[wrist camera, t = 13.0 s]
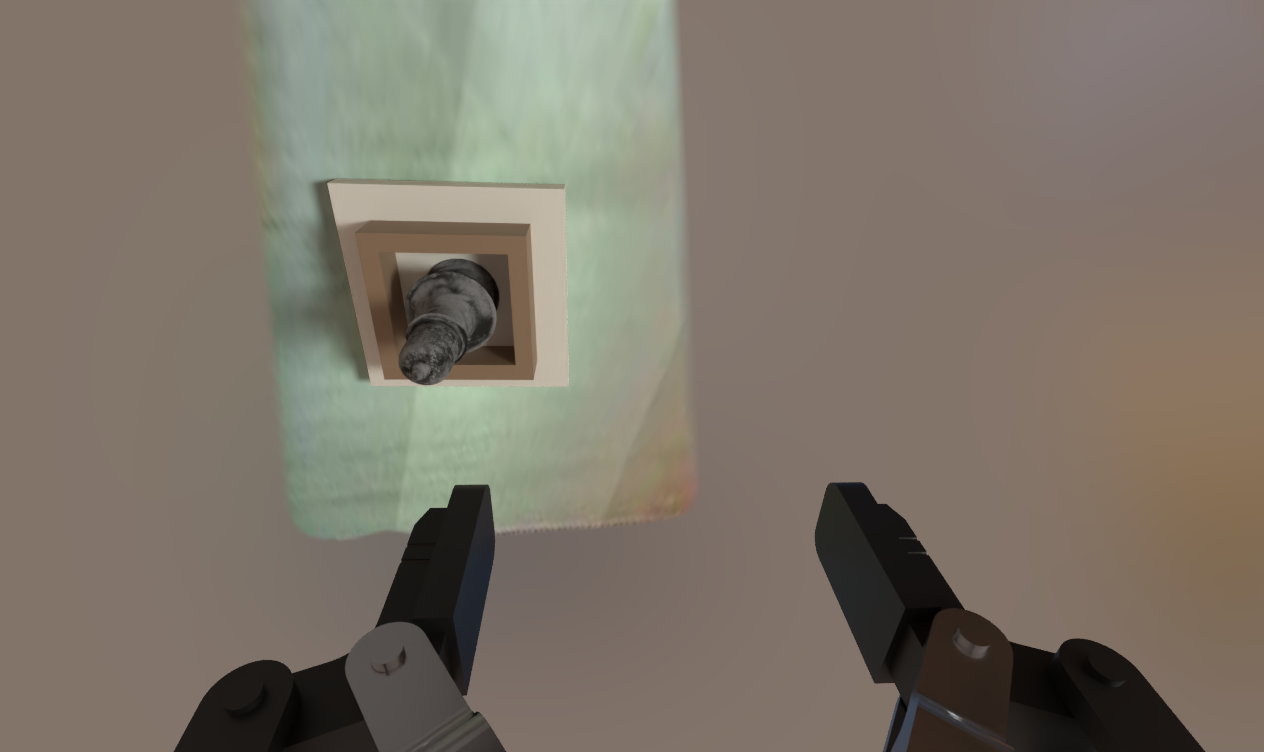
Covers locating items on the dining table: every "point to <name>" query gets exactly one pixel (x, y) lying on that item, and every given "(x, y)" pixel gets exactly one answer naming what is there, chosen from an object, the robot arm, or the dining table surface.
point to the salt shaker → (447, 319)
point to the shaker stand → (459, 229)
